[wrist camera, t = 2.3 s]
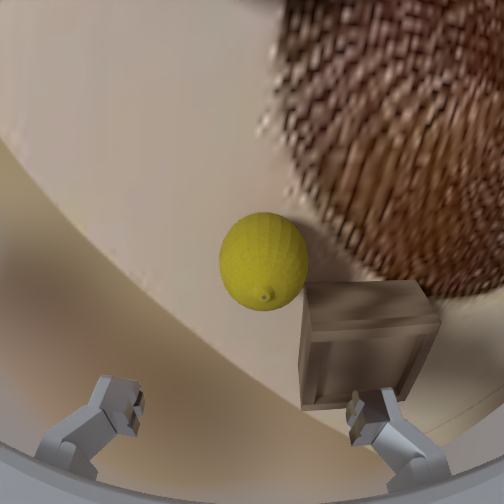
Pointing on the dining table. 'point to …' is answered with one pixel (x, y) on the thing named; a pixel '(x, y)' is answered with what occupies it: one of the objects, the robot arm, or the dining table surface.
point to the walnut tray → (362, 340)
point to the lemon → (264, 261)
